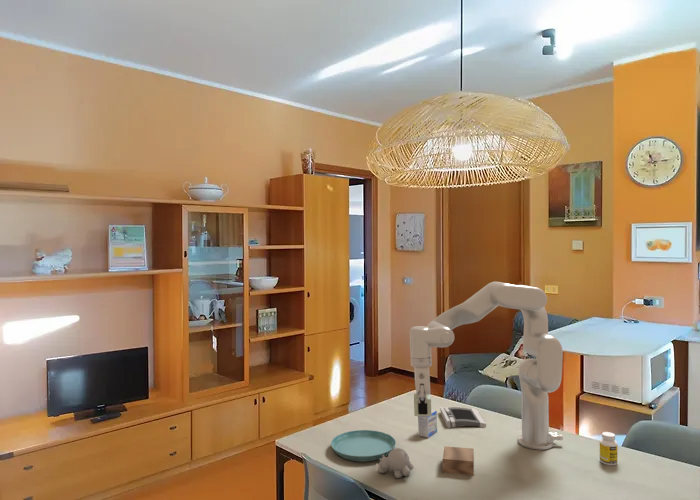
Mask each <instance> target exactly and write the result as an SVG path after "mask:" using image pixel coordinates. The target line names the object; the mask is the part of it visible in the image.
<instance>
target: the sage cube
mask: <svg viewBox="0 0 700 500" xmlns="http://www.w3.org/2000/svg"><path fill="white" fill-rule="evenodd" d="M420 397H421V396H420ZM424 397H425V396H424ZM418 403H419V397H418V395H417V394H416V393H413V409H414V410H413V413H414V414H413V415H414V417H418V416H432V414H431V410H432V395H431V393H430V395H428V394H426V403H427V414H418Z"/></svg>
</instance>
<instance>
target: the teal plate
mask: <svg viewBox="0 0 700 500" xmlns="http://www.w3.org/2000/svg"><path fill="white" fill-rule="evenodd" d="M330 445H331V448H332V449H333V451H334V452H335V454H336V455H338V456H339V457H341V458H343V459H346V460H348V461H353V462H361V463H362V462H366V463H367V462H373V461H378V460H379V458H381V459H382V458H383V456H382V455H384V456H385V457H388V455H389V453H390V452H391V451H392V450H393V449H395V447H396V445H397V441H396V439H395V437H393V436H392V435H390V434H388V433H386V432H382V431H378V430H370V429H368V430H367V429H358V430H351V431H347V432H343V433H340V434H338V435H336V436H335V437H333V438H332V440H331V442H330Z"/></svg>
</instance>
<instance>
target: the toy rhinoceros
mask: <svg viewBox="0 0 700 500" xmlns="http://www.w3.org/2000/svg"><path fill="white" fill-rule="evenodd" d="M382 456H383V458H379V459H378V460H379V463H377V462H376V464H375V465H376V468H377V470H378V472H379V473H380V474H385V473H386V471H389V470H390V469H391V470H393V473H394V477H395V479H400V478H402V477H403V476H404V477H406V476H409V475H410V474H411V472H412V470H413V469H414V465H413V463H412V461H410V455H408V453H407V451H406V450H404V449H403V448H398V447H397V448H394V449H393V450H392V451H391V452H390V453H389V454H388V455H387V456H384V455H382Z"/></svg>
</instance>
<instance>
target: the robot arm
mask: <svg viewBox="0 0 700 500" xmlns="http://www.w3.org/2000/svg"><path fill="white" fill-rule="evenodd" d="M547 302H548V296H547V294H546V292H545V291H544V290H543V289H542V288H539V287H535V286H530V285H526V284H511V283H507V282H502V281H492V282H489V283H487V284H486V285H485V286H483V287H482V288H481V289H479V290H478V291H477V292H475V293H474V294H473V295H472V296H470V297H469V298H468V299H466V300H465V301H464V302H462V303H460V304H458V305H455V306H453V307H451V308H448V309H447V310H445V311H444V312H442V313H441V314H439V315H438V316H436V317H435V318H433V320H431V321H430V322H428V324H427V325H426V326H425V325H414V326H412V327H411V328H410V329H409V349H410V350H409V353H410V355H409V356H410V367H412V368H414V369H413V370H414V372H413V373H414V385H415V391H416V393H415V394H417V395H418V397H419V403H418V414H427V403H426V394H428V395H430V394H431V380H430V379H431V377H430V376H431V375H430V367H432V365H433V359H432V347H434V348H448V347H449V346H451V345H453V343H454V341H455V332H454V331H453V330H454V329H455V328H457V327H460V326H463V325H469V324H474V323H477V322H480V321H481V320H482V319H484V318H485V316H486V317H487V315H488V314H490V313H491V312H492V311H494V310H495V309H496V308H497V307H502V308H506V309H512V310H513V309H514V310H520V311H521V313H522V314H521V315H522V317H523V337H522V338H523V339H522V341H523V342H522V344H523V345H522V346H523V350H524V351H525V353H527V354H528V355H530V356H531V357H533V358H527V359H524V360H523V361H522V362H521V363H520V365H519V367H518V378H519V383H520V384H519V385H520V391H521V397H520V398H521V434H520V435H519V436H518V437H517V442H518V443H519V445H521V446H523V447H524V448H527V449H531V450H538V451H539V450H540V451H542V450H548V449H551V448H553V447H554V446H555V445H554V441H555V440H556V441H563V439H564V438H563V435H562V434H558V432H550V423H549V422H550V421H549V419H550V417H549V412H550V411H549V394H550V393H554V392H555V391H557V390H558V389H559V388H560V386H561V383H562V379H563V378H562V377H563V360H564V359H563V357H564V354H563V353H564V352H563V346H562V344H561V342H560V340H559V339H558V338H557V337H555V336H554V335H551V334H549V318H548V313H547V310H546V307H545V306H546V305H547ZM420 396H421V397H420ZM424 396H425V397H424Z"/></svg>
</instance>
